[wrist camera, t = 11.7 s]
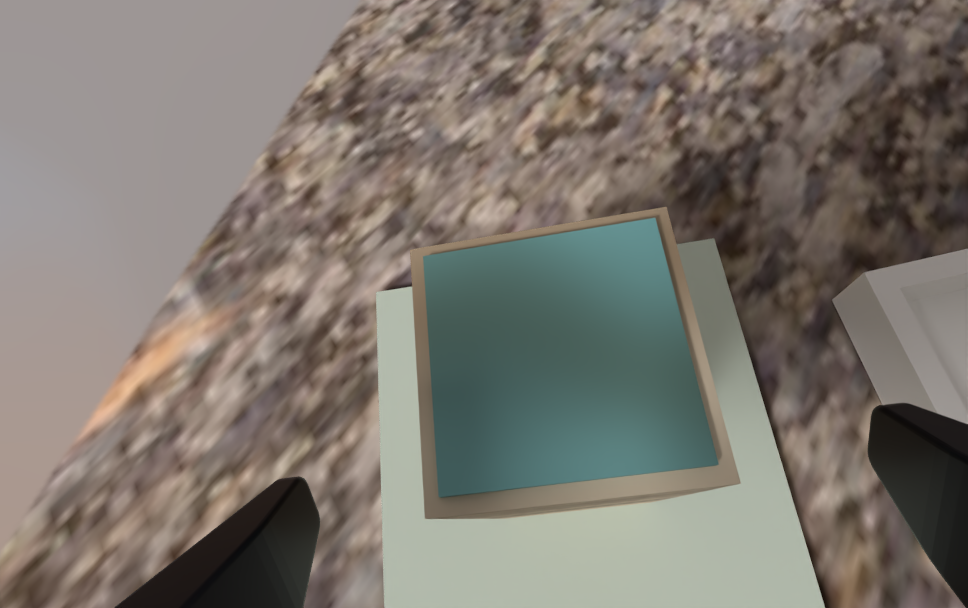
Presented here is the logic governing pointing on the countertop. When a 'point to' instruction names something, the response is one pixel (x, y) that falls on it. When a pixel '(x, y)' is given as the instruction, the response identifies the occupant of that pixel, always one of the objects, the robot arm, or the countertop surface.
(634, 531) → the mat
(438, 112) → the countertop surface
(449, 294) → the wooden block
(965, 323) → the bin
